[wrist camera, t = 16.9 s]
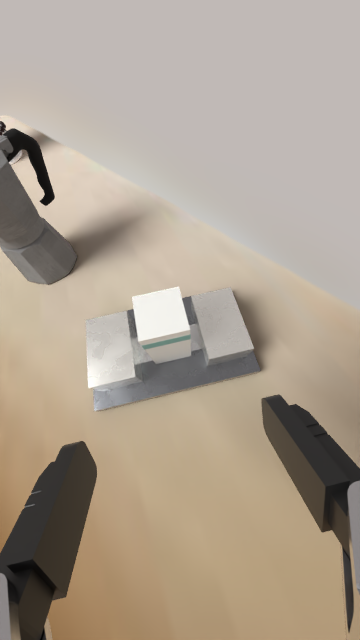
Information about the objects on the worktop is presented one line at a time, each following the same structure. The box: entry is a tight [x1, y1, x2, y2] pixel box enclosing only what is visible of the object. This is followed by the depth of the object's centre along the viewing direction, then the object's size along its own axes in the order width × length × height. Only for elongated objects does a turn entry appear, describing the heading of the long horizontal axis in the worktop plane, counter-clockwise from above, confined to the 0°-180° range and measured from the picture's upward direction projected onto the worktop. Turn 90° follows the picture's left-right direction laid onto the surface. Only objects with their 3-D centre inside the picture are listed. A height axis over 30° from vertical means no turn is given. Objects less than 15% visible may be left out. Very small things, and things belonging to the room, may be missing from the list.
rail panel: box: [86, 287, 261, 411], centre depth 26 cm, size 20×12×5 cm, turn 103°
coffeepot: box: [0, 129, 77, 284], centre depth 28 cm, size 15×9×18 cm, turn 145°
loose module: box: [132, 287, 191, 364], centre depth 23 cm, size 4×4×9 cm
